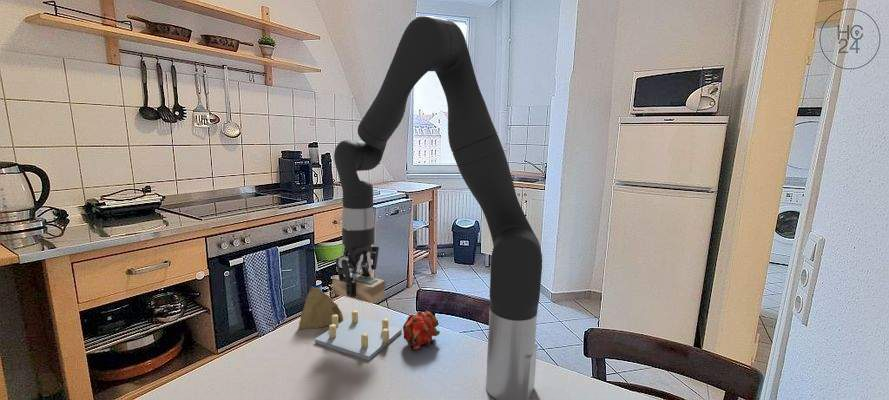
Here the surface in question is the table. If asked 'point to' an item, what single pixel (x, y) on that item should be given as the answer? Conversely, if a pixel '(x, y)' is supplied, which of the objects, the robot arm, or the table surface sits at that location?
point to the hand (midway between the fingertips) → (358, 292)
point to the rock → (318, 310)
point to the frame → (362, 288)
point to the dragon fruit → (420, 329)
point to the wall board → (358, 336)
